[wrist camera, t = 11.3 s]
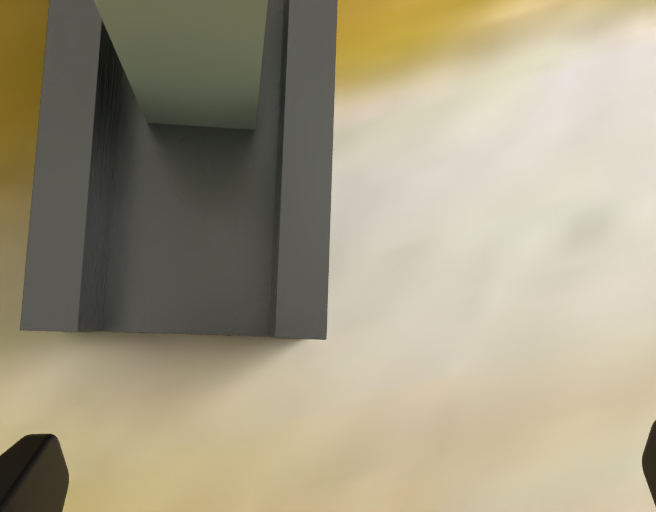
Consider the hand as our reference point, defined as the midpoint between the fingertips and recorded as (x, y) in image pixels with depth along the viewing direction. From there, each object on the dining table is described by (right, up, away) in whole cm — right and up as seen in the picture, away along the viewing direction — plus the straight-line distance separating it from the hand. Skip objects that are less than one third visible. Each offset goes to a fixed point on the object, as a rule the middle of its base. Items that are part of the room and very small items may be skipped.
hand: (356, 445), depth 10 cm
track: (-4, +9, +9) cm, 13 cm away
